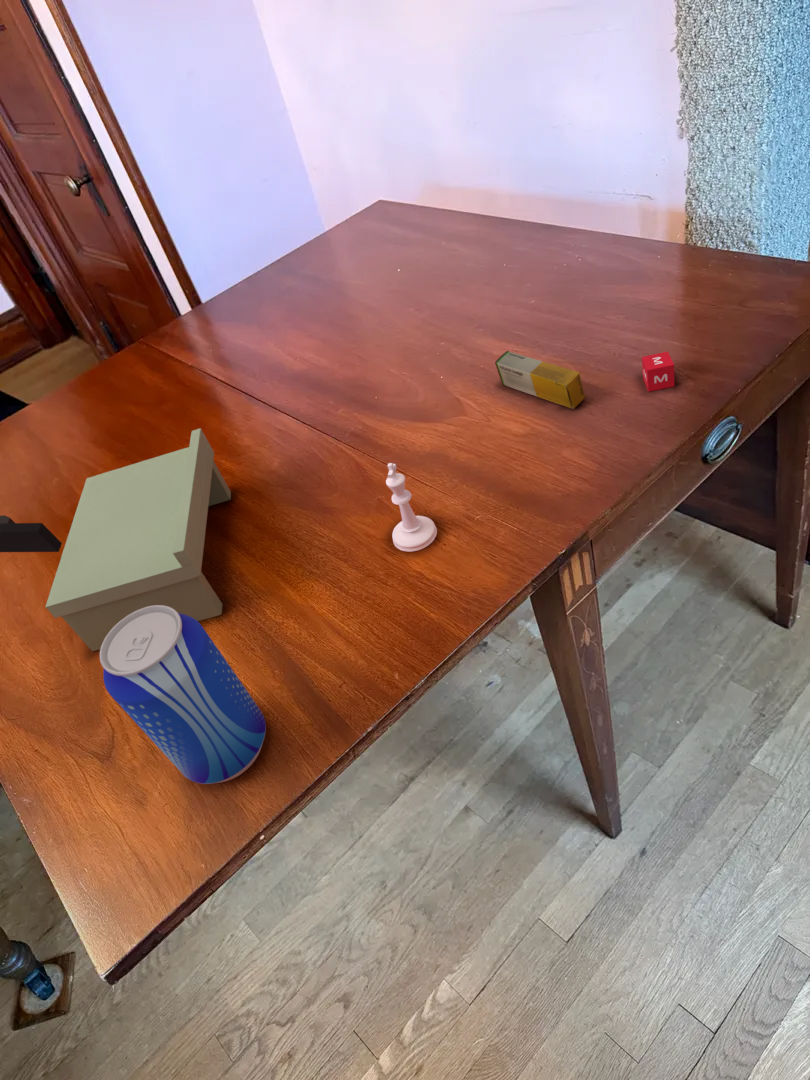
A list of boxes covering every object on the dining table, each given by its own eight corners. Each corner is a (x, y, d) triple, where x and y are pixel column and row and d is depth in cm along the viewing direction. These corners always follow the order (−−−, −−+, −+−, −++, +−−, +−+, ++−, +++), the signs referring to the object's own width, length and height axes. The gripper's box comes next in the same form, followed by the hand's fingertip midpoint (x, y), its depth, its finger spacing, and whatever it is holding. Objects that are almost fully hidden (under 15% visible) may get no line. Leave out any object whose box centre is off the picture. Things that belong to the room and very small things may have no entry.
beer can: (167, 754, 68) (71, 648, 58) (240, 692, 71) (161, 580, 61) (212, 810, 63) (114, 704, 52) (289, 740, 66) (211, 627, 55)
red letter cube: (674, 386, 88) (674, 364, 86) (648, 391, 88) (647, 370, 86) (668, 373, 90) (667, 351, 88) (642, 378, 90) (641, 356, 88)
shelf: (87, 654, 81) (33, 594, 74) (119, 524, 97) (77, 465, 91) (226, 614, 80) (183, 549, 73) (234, 490, 96) (200, 427, 89)
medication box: (500, 386, 97) (492, 361, 94) (514, 374, 98) (507, 349, 95) (573, 410, 89) (566, 384, 86) (587, 396, 90) (581, 370, 87)
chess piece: (388, 552, 80) (360, 482, 73) (398, 520, 83) (373, 450, 77) (432, 551, 78) (407, 479, 72) (441, 518, 82) (418, 447, 75)
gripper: (-129, 507, 64) (99, 503, 60) (-301, 810, 50) (-22, 829, 47) (-201, 451, 57) (48, 443, 54) (-420, 780, 44) (-108, 799, 40)
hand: (16, 622), depth 50 cm, fingers open, 13 cm apart
